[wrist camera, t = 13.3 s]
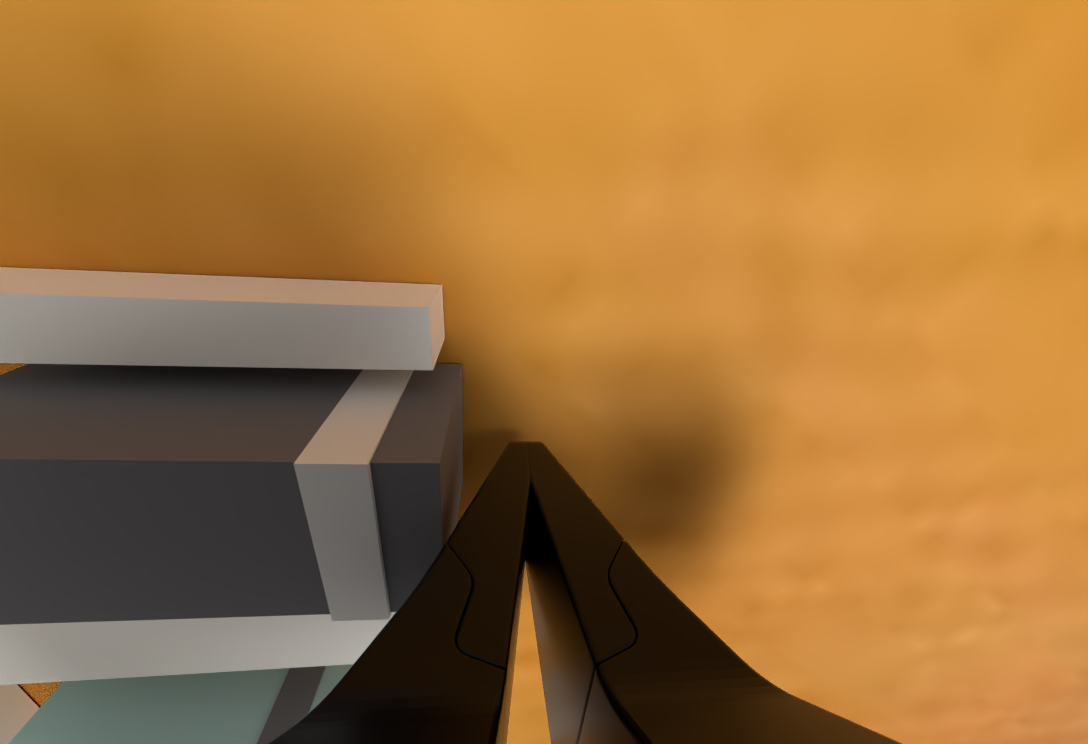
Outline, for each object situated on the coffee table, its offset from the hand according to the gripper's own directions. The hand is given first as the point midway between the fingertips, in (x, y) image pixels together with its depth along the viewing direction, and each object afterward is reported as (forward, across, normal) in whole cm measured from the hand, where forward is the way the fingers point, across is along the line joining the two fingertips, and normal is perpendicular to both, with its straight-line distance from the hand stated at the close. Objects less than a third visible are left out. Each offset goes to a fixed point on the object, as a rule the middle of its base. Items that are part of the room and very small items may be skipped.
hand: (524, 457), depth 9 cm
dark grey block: (+1, +6, 0) cm, 6 cm away
